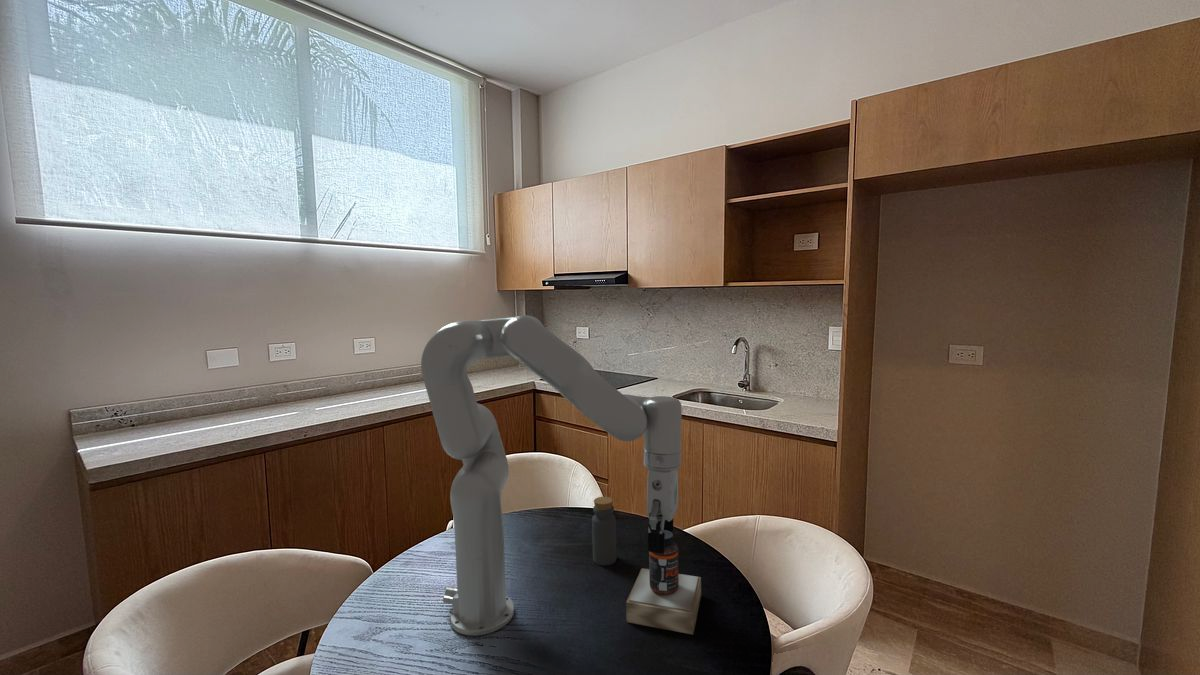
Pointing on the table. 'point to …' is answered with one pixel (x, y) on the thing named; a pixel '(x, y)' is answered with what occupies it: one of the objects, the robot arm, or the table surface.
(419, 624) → the table surface
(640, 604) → the grey square box
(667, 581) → the supplement bottle
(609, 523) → the bottle
